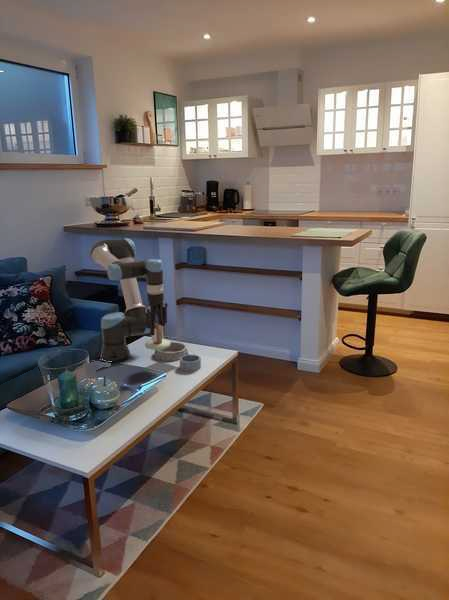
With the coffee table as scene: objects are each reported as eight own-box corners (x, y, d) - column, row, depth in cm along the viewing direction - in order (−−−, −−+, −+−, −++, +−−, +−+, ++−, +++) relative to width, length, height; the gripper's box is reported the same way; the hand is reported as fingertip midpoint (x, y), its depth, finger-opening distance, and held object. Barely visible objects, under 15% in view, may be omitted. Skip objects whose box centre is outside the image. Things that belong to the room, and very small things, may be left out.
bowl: (176, 369, 234) (175, 359, 233) (189, 363, 242) (189, 353, 240) (191, 374, 228) (191, 363, 227) (204, 367, 236) (204, 357, 234)
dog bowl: (190, 350, 260) (190, 341, 258) (184, 363, 242) (184, 353, 241) (159, 349, 262) (159, 340, 260) (151, 362, 244) (150, 352, 242)
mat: (140, 371, 233) (140, 369, 233) (159, 362, 243) (159, 361, 243) (159, 377, 225) (159, 376, 225) (178, 368, 235) (178, 367, 235)
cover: (140, 346, 230) (138, 326, 227) (157, 339, 239) (156, 319, 236) (157, 351, 223) (156, 330, 220) (175, 344, 232) (174, 324, 229)
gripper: (147, 297, 215) (150, 346, 222) (173, 290, 228) (175, 336, 235) (136, 295, 220) (139, 343, 226) (162, 287, 233) (164, 333, 239)
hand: (157, 339), depth 230 cm, fingers closed on cover, 4 cm apart
